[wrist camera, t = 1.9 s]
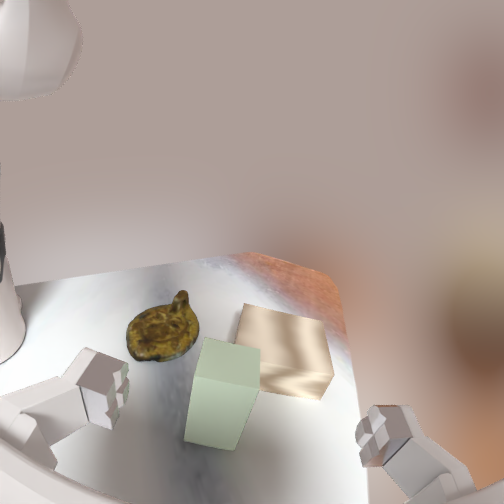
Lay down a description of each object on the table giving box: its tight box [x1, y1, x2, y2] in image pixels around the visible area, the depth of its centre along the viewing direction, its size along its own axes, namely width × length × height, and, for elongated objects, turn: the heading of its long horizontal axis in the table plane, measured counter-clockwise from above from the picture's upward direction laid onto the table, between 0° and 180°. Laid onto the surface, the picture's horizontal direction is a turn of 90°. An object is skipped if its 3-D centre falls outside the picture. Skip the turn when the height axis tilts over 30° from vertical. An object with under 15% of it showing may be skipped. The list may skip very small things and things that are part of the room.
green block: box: [184, 337, 260, 451], centre depth 25 cm, size 5×5×10 cm
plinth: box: [234, 303, 334, 400], centre depth 38 cm, size 12×12×5 cm
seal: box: [126, 290, 199, 362], centre depth 39 cm, size 9×5×15 cm
